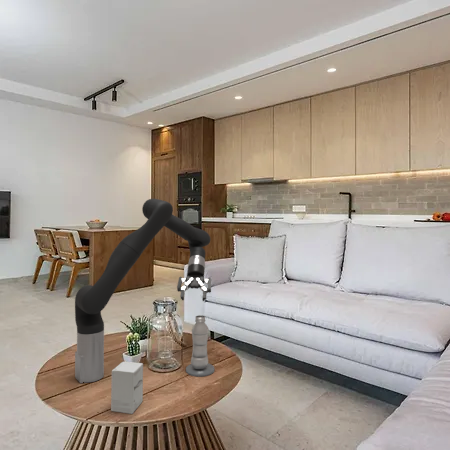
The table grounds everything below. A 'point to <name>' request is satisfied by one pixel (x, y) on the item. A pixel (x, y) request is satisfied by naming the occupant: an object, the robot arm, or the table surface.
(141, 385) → the supplement box
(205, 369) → the coaster
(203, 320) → the plastic bottle
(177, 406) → the table surface
